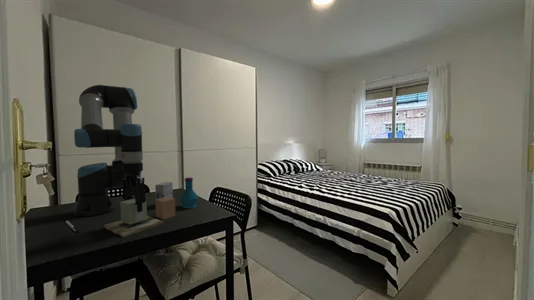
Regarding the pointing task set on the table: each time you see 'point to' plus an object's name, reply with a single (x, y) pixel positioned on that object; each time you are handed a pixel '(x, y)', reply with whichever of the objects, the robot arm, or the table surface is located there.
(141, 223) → the beige flat square slab
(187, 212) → the table surface
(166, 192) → the ink box
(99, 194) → the robot arm
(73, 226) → the pen
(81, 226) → the table surface
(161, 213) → the terracotta block
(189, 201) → the teal vase
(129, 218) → the sage block
